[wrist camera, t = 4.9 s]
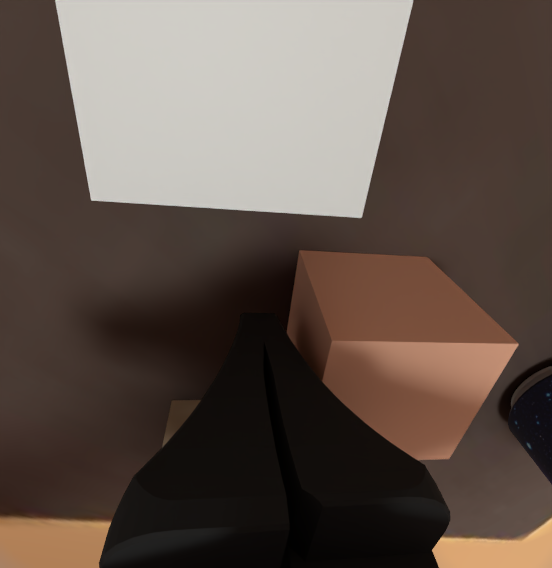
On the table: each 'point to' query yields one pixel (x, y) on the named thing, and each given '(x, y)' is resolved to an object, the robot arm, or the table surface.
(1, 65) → the table surface
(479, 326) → the terracotta block
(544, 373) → the beverage can
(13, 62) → the table surface
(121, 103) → the light grey block
